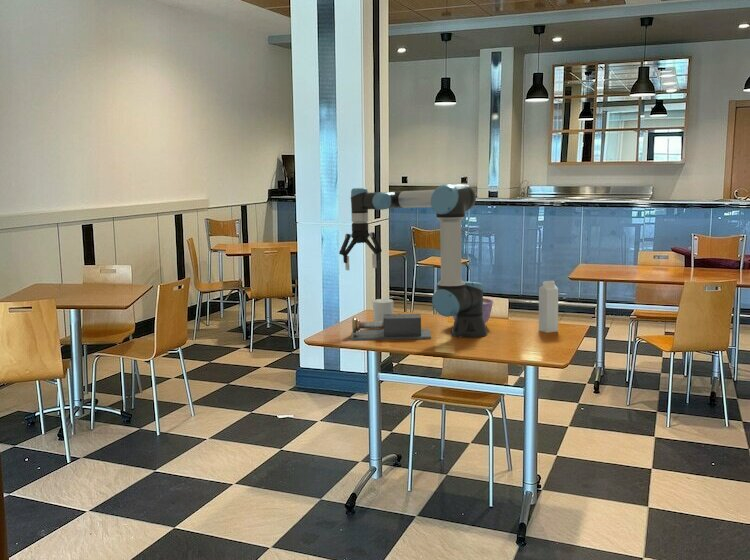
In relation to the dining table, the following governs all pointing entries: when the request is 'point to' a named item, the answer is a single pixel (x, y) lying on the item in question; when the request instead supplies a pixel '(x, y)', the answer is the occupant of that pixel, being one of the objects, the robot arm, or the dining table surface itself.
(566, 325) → the dining table surface
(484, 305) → the bowl of food
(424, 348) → the dining table surface
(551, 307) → the milk
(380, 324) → the shaft
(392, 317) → the bearing block
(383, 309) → the candle holder
